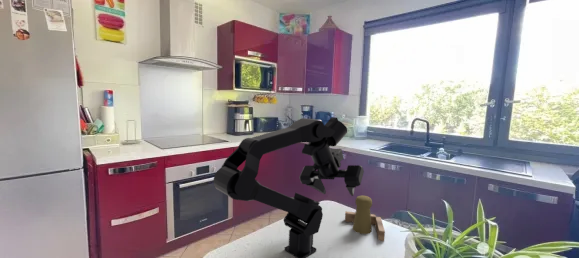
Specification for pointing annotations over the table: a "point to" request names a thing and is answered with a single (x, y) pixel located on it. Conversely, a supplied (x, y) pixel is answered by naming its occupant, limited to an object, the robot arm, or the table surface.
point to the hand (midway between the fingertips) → (338, 193)
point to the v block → (374, 221)
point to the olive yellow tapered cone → (363, 215)
